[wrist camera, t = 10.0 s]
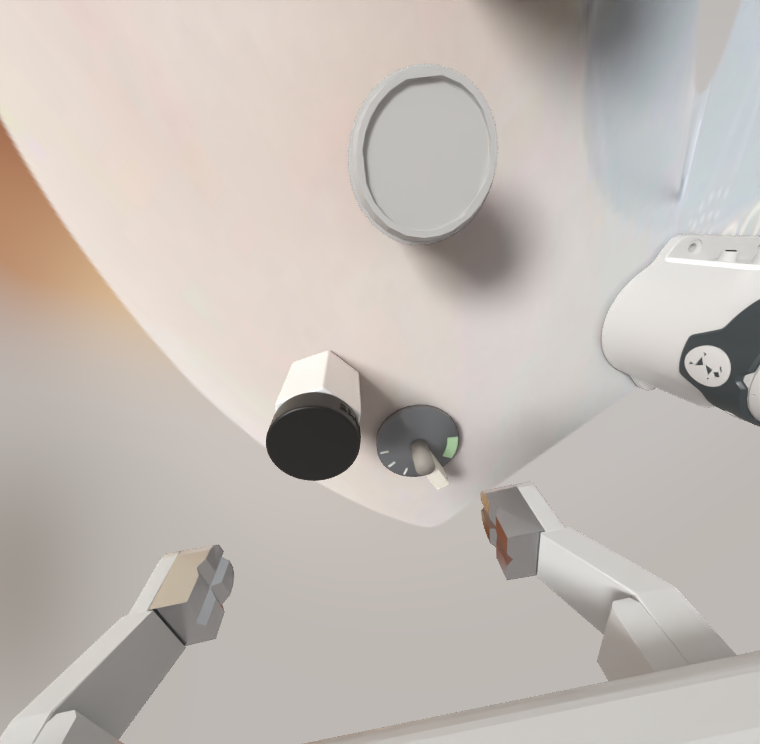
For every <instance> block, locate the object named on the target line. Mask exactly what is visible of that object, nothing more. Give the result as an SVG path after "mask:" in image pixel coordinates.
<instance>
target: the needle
mask: <svg viewBox="0 0 760 744" xmlns="http://www.w3.org/2000/svg"><path fill="white" fill-rule="evenodd" d="M410 451H411V454H412V458H413V462H414V465H415V469H416V472H417V473H418V474H419V475H425V476H426V477H427V478H428V479H429V481H430V482H431V483H432V484H433V486H434V487H435V488H436V489H437V491H438V490H440V489H442V488H443V487H445V486H447V485H449V481H448V479H447V476H446V474H445V471H444V468H443V467H442V466H441V464H440V463H439V462H438V460H437V459H436V458H435V456H434V455H433V454H432V452H431V451H430V449H429V447H428V444H427V442H426V441H425V440H423V439H417V440H415V441H413V442H412V443H411V445H410Z"/></svg>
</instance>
